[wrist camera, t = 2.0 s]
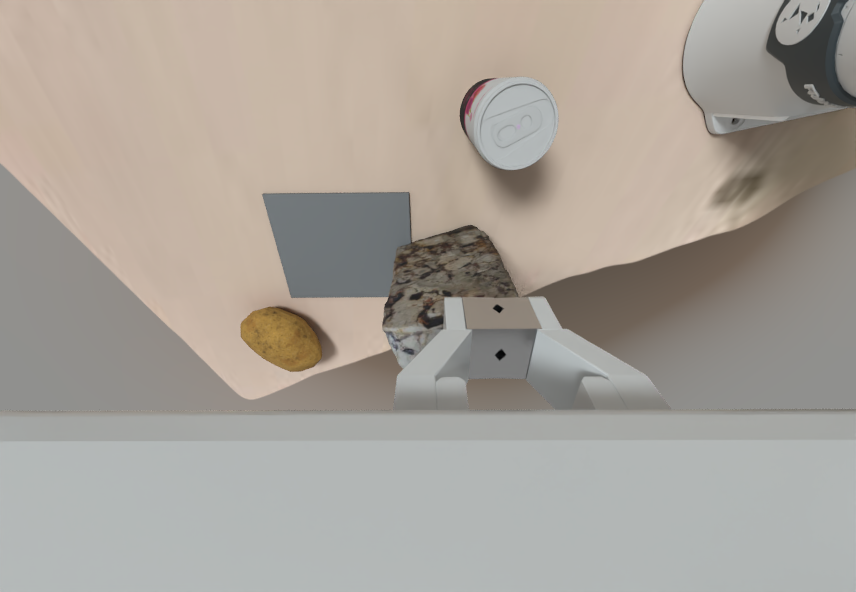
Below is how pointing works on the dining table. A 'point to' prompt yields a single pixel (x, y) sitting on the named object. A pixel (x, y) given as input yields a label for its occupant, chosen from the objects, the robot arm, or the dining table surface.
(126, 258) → the dining table surface
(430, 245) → the stone block
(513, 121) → the beverage can
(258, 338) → the potato
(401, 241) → the mat
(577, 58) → the dining table surface
